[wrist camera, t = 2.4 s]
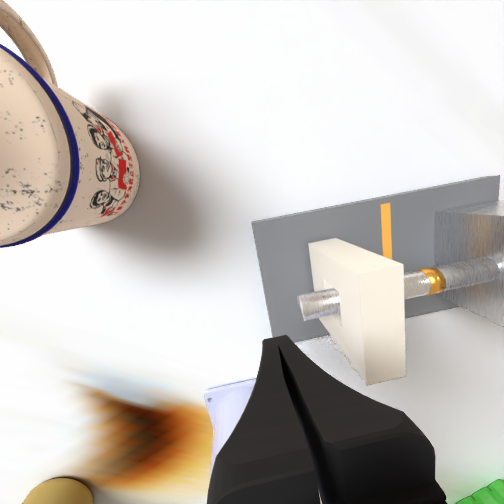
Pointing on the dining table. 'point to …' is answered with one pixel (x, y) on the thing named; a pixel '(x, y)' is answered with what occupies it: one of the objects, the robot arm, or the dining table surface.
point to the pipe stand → (449, 265)
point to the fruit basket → (487, 495)
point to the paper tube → (60, 493)
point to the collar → (363, 307)
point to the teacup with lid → (54, 149)
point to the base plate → (359, 234)
